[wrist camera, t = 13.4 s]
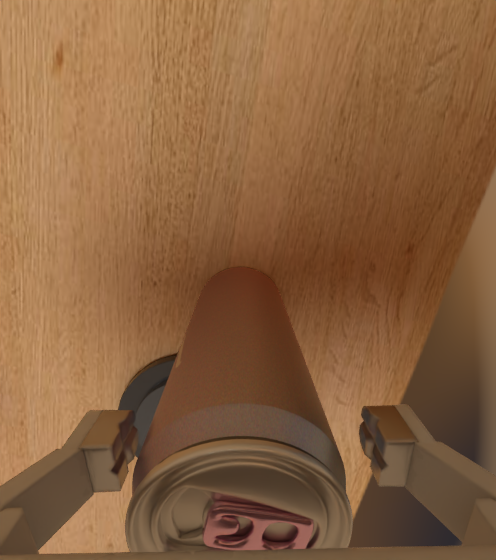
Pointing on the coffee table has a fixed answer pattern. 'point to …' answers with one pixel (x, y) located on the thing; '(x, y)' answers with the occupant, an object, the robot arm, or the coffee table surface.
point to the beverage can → (239, 436)
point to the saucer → (146, 395)
